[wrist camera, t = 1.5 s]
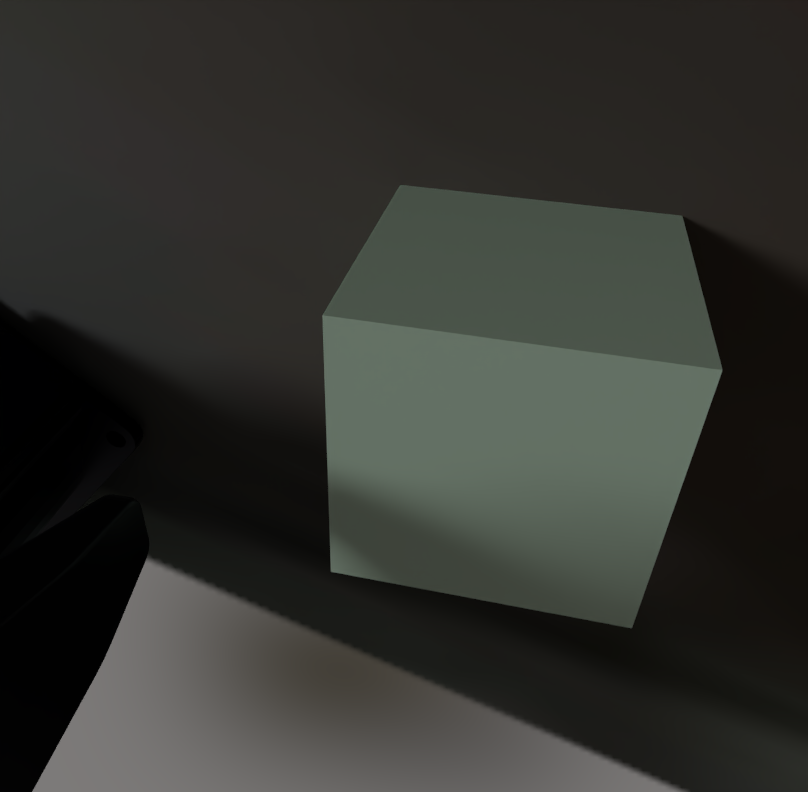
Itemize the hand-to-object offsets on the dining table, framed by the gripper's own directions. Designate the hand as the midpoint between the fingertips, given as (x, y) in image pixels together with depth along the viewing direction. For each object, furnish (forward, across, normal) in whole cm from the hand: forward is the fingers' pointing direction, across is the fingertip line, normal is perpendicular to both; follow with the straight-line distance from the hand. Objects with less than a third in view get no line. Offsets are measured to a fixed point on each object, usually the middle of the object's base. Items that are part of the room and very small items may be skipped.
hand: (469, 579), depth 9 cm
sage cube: (+7, 0, 0) cm, 7 cm away
